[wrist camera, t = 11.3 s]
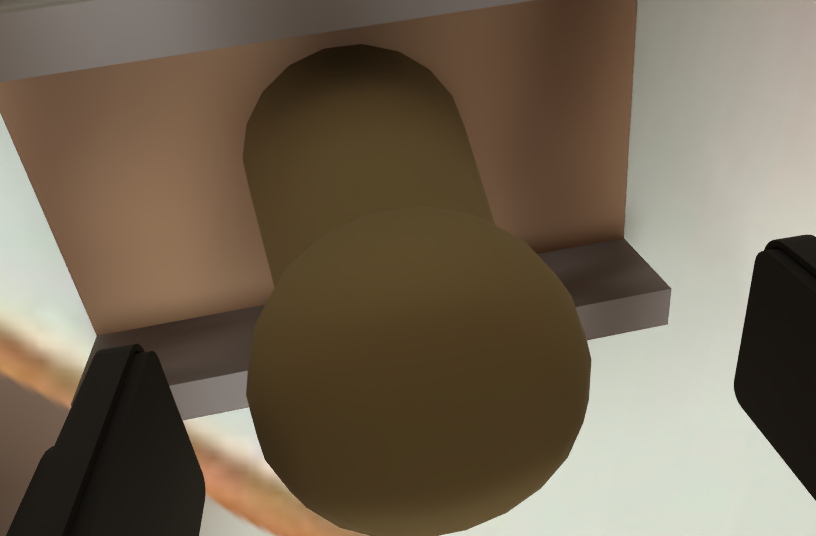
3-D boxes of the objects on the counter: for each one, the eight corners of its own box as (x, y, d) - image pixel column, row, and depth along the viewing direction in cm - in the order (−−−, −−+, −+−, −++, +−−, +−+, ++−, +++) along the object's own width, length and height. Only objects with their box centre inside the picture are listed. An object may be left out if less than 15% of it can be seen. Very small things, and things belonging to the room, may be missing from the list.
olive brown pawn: (330, 292, 20) (377, 651, 11) (192, 133, 17) (97, 440, 8) (504, 182, 20) (714, 469, 10) (390, -7, 17) (542, 157, 7)
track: (625, -111, 17) (712, -106, 14) (608, 263, 23) (666, 332, 20) (-36, -18, 16) (-121, 13, 12) (120, 355, 22) (91, 447, 18)
